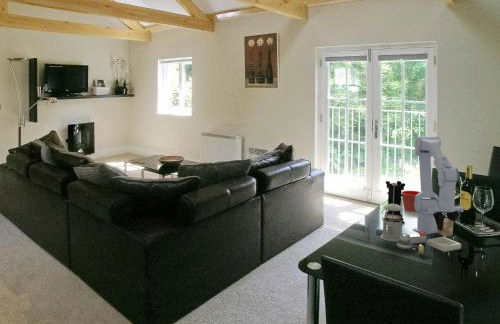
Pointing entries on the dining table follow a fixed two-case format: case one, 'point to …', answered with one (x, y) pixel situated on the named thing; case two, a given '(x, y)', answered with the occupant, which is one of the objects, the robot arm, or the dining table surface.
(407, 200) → the flower pot
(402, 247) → the crank base
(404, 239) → the crank
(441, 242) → the tray
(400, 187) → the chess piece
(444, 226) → the block
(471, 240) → the dining table surface
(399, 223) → the french press
